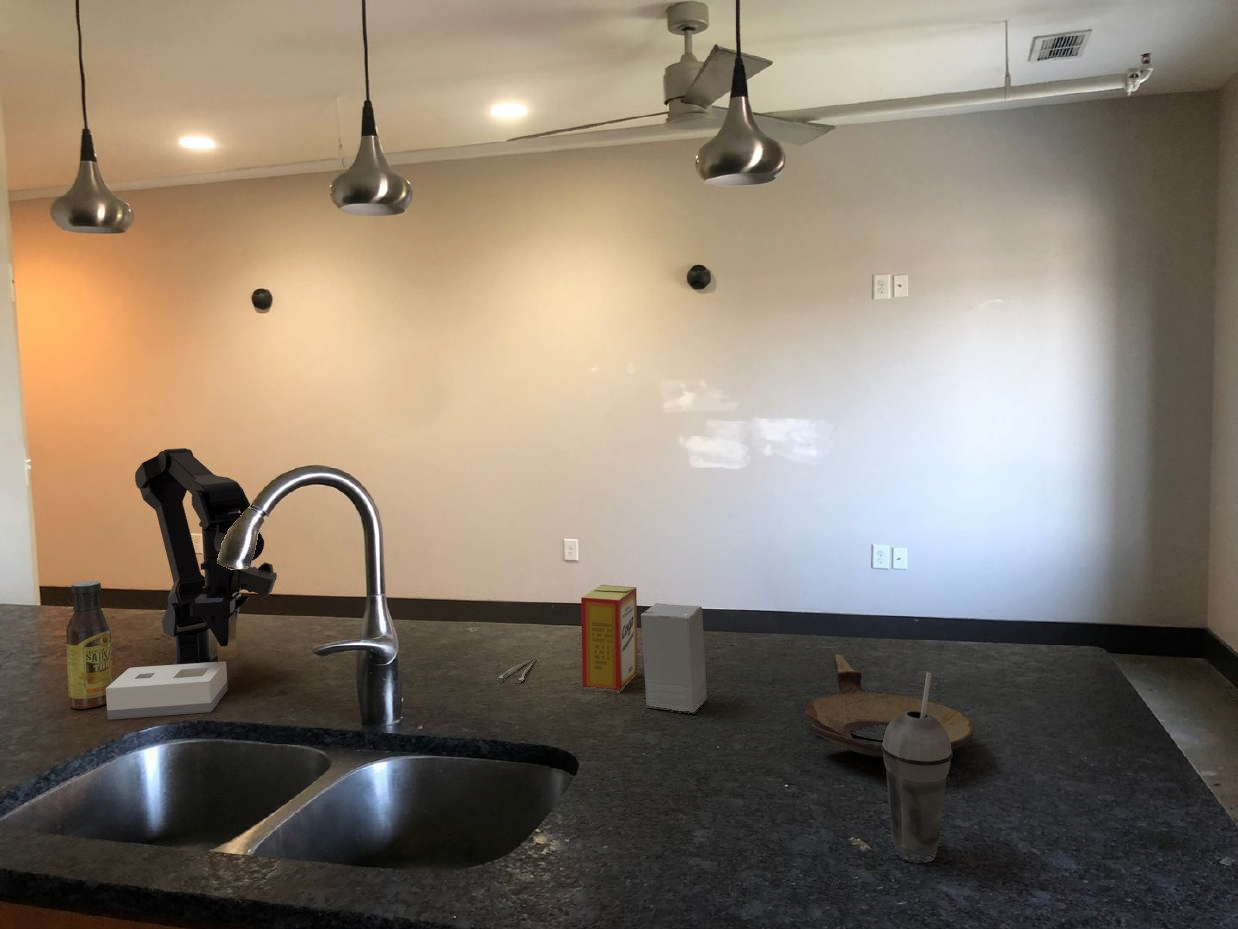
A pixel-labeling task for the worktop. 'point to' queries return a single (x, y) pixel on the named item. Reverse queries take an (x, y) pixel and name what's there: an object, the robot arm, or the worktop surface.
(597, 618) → the baking soda box
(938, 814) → the beverage cup
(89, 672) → the sauce bottle
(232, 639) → the oak peg
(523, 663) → the tweezers
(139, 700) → the hole block
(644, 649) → the skincare box
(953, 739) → the oil lamp
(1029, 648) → the worktop surface
